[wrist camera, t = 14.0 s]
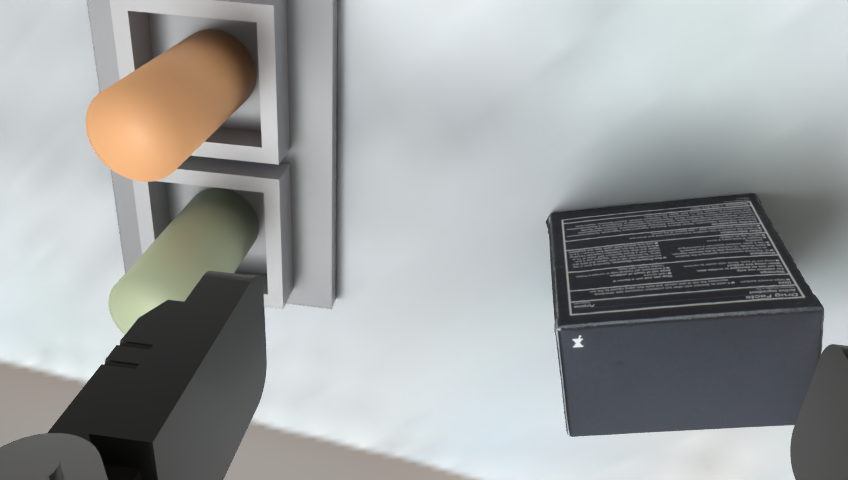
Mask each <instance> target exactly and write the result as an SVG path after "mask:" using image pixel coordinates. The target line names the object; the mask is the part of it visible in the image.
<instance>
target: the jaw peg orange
mask: <svg viewBox="0 0 848 480" xmlns="http://www.w3.org/2000/svg"><path fill="white" fill-rule="evenodd" d="M255 83H256V68H255V64H254V61H253V58H252V57H251V55H250V53H249V51H248V50H247V48H246V47H245V46H244V45H243V44H242V43H241V42H240V41H239V40H238V39H236V38H235V37H234V36H232V35H230V34H228V33H226V32H223V31H220V30H214V29H207V30H201V31H198V32H196V33H193V34H192V35H190V36H189V37H187V38H186V39H184V40H182V41H181V42H179V43H178V44H176V45H174V46H173V47H171V48H170V49H168V50H167V51H165V52H163V53H162V54H160V55H159V56H157V57H155V58H154V59H152V60H151V61H149V62H147V63H146V64H144V65H143V66H141V67H140V68H138V69H136V70H135V71H133V72H132V73H130V74H128V75H127V76H125V77H124V78H122V79H121V80H119V81H117V82H116V83H114V84H113V85H111V86H109V87H108V88H106V89H105V90H103V91H102V92H100V93H99V94H98V95H97V96H96V97H95V98H94V99H93V100H92V102H91V104H90V105H89V108H88V111H87V115H86V131H87V135H88V138H89V141H90V144H91V146H92V148H93V149H94V151H95V153H96V154H97V156H98V157H99V158H100V159H101V160H102V161H103V163H104V164H105V165H107V166H108V167H109V168H110V169H111V170H113V171H114V172H116V173H117V174H119V175H121V176H123V177H126V178H128V179H131V180H135V181H141V182H152V181H157V180H161V179H163V178H165V177H167V176H169V175H170V174H172V173H173V172H174V171H175V170H176V169H177V168H178V167H179V166H180V165H181V164H182V163H183V162H184V161H185V160H186V159H187V158H188V157H189V156H190V155H191V154H192V153H193V152H194V151H195V150H196V149H198V148H199V147H200V146H201V145H202V144H203V143H204V142H205V141H206V140H207V139H208V138H209V137H210V136H211V135H212V134H213V133H214V132H215V131H216V130H217V129H218V128H219V127H220V126H221V125H222V124H223V123H224V122H225V121H226V120H227V119H228V118H229V117H230V116H231V115H232V114H233V113H234V112H235V111H236V110H237V109H238V108H239V107H240V106H241V105H242V104H243V103H244V102H245V101H246V100H247V99H248V98H249V97H250V95H251V94H252V92H253V90H254V87H255Z"/></svg>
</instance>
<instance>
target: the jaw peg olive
mask: <svg viewBox="0 0 848 480" xmlns="http://www.w3.org/2000/svg"><path fill="white" fill-rule="evenodd" d="M258 232H259V222H258V218H257V215H256V213H255V211H254V209H253V208H252V206H251V205H250V204H249V203H248V201H246V200H245V199H244V198H243V197H242V196H240V195H239V194H237V193H235V192H233V191H230V190H227V189H222V188H211V189H206V190H204V191H201V192H200V193H198V194H197V195H195V196H194V198H193V199H192V200H191V201H190V202H189V203H188V204H187V205H186V206H185V208H184V209H183V210H182V211H181V212H180V213H179V214H178V215H177V216H176V218H175V219H174V220H173V221H172V222H171V223H170V224H169V225H168V226H167V228H166V229H165V230H164V231H163V232H162V233H161V234H160V235H159V237H158V238H157V239H156V240H155V241H154V242H153V243H152V244H151V245H150V247H149V248H148V249H147V250H146V251H145V252H144V253H143V254H142V255H141V257H140V258H139V259H138V260H137V261H136V262H135V263H134V264H133V265H132V267H131V268H130V269H129V270H128V271H127V272H126V273H125V274H124V276H123V277H122V278H121V279H120V280H119V281H118V282H117V283H116V284H115V286H114V287H113V289H112V290H111V293H110V296H109V310H110V314H111V316H112V319H113V321H114V322H115V324H116V325H117V327H118V328H119V329H120V331H121V332H122V333H123V334H124V335H125V334H126V333H127V332H128V330H129V329H130V328H131V327H132V325H133V324H134V323H135V322H136V320H137V319H138V318H139V317H141V316H142V315H144V314H146V313H147V312H149V311H150V310H152V309H154V308H155V307H157V306H159V305H160V304H162V303H163V302H165V301H167V300H175V301H183V302H184V301H185V300H186V299H187V297H188V296H189V294H190V293H191V292H192V290H193V289H194V288H195V286H196V285H197V283H198V282H199V281H200V279H201V278H202V276H203V275H204V274H205V273H206V272H207V271H217V272H226V273H235V271H236V270H237V268H238V266H239V265H240V263H241V262H242V260H243V259H244V257H245V256H246V254H247V253H248V251H249V250H250V248H251V247H252V245H253V244H254V242H255V240H256V239H257V236H258Z"/></svg>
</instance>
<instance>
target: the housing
mask: <svg viewBox="0 0 848 480" xmlns="http://www.w3.org/2000/svg"><path fill="white" fill-rule="evenodd" d="M87 6H88V13H89V20H90V28H91V35H92V42H93V49H94V56H95V63H96V70H97V77H98V84H99V91H100V92H102V91H103V90H105V89H106V88H108V87H109V86H111V85H113V84H114V83H116V82H117V81H119V80H121V79H122V78H124V77H125V76H127V75H128V74H130V73H132V72H133V71H135V70H136V69H138V68H140V67H141V66H143V65H144V64H146V63H147V62H149V61H151V60H152V59H154V58H155V57H157V56H159V55H160V54H162V53H163V52H165V51H167V50H168V49H170V48H171V47H173V46H174V45H176V44H178V43H179V42H181V41H182V40H184V39H186V38H187V37H189V36H190V35H192V34H193V33H196V32H198V31H201V30H207V29H214V30H220V31H223V32H226V33H228V34H230V35H232V36H234V37H235V38H236V39H238V40H239V41H240V42H241V43H242V44H243V45H244V46H245V47H246V48H247V50H248V51H249V53H250V55H251V57H252V58H253V61H254V64H255V68H256V83H255V87H254V90H253V92H252V94H251V95H250V97H249V98H248V99H247V100H246V101H245V102H244V103H243V104H242V105H241V106H240V107H239V108H238V109H237V110H236V111H235V112H234V113H233V114H232V115H231V116H230V117H229V118H228V119H227V120H226V121H225V122H224V123H223V124H222V125H221V126H220V127H219V128H218V129H217V130H216V131H215V132H214V133H213V134H212V135H211V136H210V137H209V138H208V139H207V140H206V141H205V142H204V143H203V144H202V145H201V146H200V147H199V148H198V149H196V150H195V151H194V152H193V153H192V154H191V155H190V156H189V157H188V158H187V159H186V160H185V161H184V162H183V163H182V164H181V165H180V166H179V167H178V168H177V169H176V170H175V171H174V172H173V173H172V174H170V175H169V176H167V177H165V178H163V179H161V180H157V181H152V182H141V181H135V180H131V179H128V178H126V177H123V176H121V175H119V174H117V173H116V172H114V171H113V170H111V176H112V183H113V190H114V197H115V204H116V211H117V219H118V226H119V233H120V240H121V247H122V254H123V261H124V268H125V273H126V272H127V271H128V270H129V269H130V268H131V267H132V265H133V264H134V263H135V262H136V261H137V260H138V259H139V258H140V257H141V255H142V254H143V253H144V252H145V251H146V250H147V249H148V248H149V247H150V245H151V244H152V243H153V242H154V241H155V240H156V239H157V238H158V237H159V235H160V234H161V233H162V232H163V231H164V230H165V229H166V228H167V226H168V225H169V224H170V223H171V222H172V221H173V220H174V219H175V218H176V216H177V215H178V214H179V213H180V212H181V211H182V210H183V209H184V208H185V206H186V205H187V204H188V203H189V202H190V201H191V200H192V199H193V198H194V196H195V195H197V194H198V193H200V192H201V191H204V190H206V189H211V188H222V189H227V190H230V191H233V192H235V193H237V194H239V195H240V196H242V197H243V198H244V199H245V200H246V201H248V203H249V204H250V205H251V206H252V208H253V209H254V211H255V213H256V215H257V218H258V222H259V232H258V236H257V239H256V240H255V242H254V244H253V245H252V247H251V248H250V250H249V251H248V253H247V254H246V256H245V257H244V259H243V260H242V262H241V263H240V265H239V266H238V268H237V270H236V271H235V274H243V275H252V276H259V277H260V279H261V281H262V284H263V293H264V307H271V308H280V309H283V308H284V306H285V304H294V305H302V306H311V307H319V308H328V309H332V307H333V304H334V302H335V293H336V140H337V0H87Z"/></svg>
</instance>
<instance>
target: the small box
mask: <svg viewBox="0 0 848 480" xmlns="http://www.w3.org/2000/svg"><path fill="white" fill-rule="evenodd" d="M546 224H547V228H548V234H549V239H550V258H551V259H550V260H551V275H552V290H553V304H554V318H555V335H556V341H557V350H558V359H559V367H560V376H561V384H562V393H563V403H564V414H565V420H566V428H567V430H566V431H567V434H568V435H569V436H571V437H575V436H591V435H611V434H627V433H645V432H664V431H683V430H703V429H722V428H741V427H762V426H784V425H795V423H796V421H797V418H798V415H799V413H800V410H801V407H802V404H803V402H804V399H805V396H806V394H807V391H808V388H809V385H810V383H811V380H812V377H813V375H814V372H815V369H816V366H817V364H818V361H819V359H820V356H821V351H822V335H823V321H824V308H823V306H822V304H821V303H820V301H819V300H818V298H817V297H816V296H815V295H814V294H813V293H812V290H811V289H810V287H809V285H808V284H807V283H806V282H805V280H804V278H803V276H802V275H801V273H800V271H799V270H798V269H797V266H796V264H795V263H794V261H793V259H792V257H791V255H790V254H789V252H788V250H787V249H786V247H785V245H784V244H783V242H782V240H781V239H780V237H779V235H778V233H777V232H776V230H775V229H774V227H773V225H772V223H771V221H770V219H769V218H768V217H767V215H766V214H765V211H764V210H763V208H762V206H761V204H760V200H759V198H758V197H757V195H755V194H747V195H735V196H724V197H713V198H704V199H694V200H684V201H673V202H663V203H654V204H643V205H633V206H622V207H612V208H603V209H592V210H583V211H574V212H565V213H552V214H551V215H550V216H549V217H548V219H547V221H546Z"/></svg>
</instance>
